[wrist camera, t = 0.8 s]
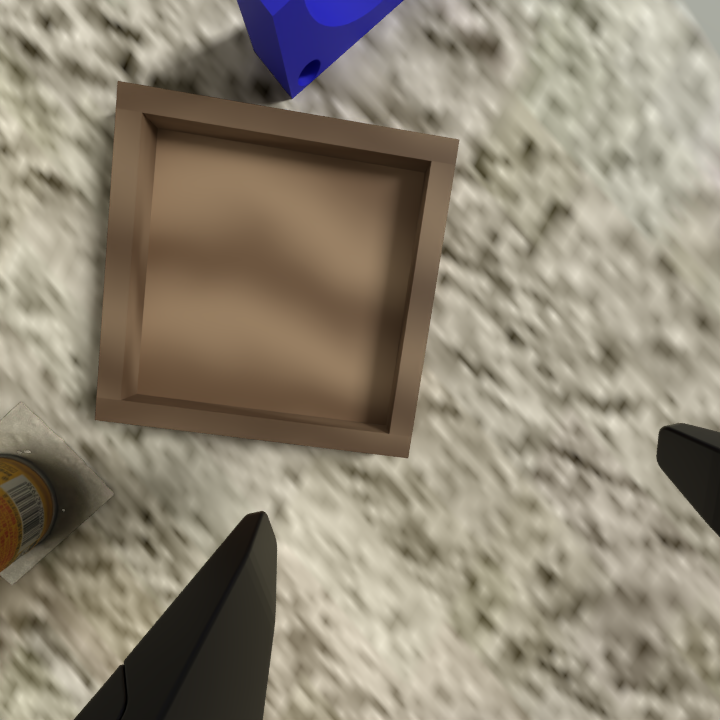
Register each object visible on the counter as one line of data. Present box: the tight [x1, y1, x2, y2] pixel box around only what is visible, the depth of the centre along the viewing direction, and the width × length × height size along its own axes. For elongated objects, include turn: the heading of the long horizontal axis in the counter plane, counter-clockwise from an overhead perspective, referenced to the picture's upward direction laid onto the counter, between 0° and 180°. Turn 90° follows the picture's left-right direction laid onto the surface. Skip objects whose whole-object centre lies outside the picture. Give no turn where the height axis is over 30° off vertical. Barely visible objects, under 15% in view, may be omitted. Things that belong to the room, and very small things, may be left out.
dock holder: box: [95, 81, 459, 458], centre depth 21 cm, size 16×16×2 cm
